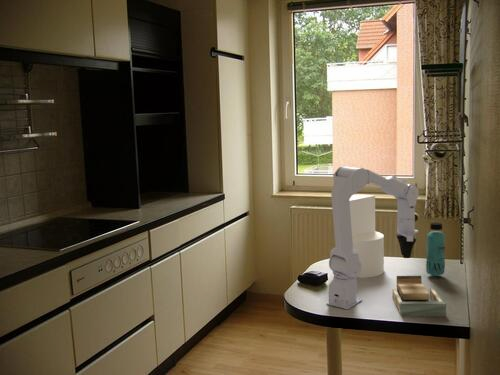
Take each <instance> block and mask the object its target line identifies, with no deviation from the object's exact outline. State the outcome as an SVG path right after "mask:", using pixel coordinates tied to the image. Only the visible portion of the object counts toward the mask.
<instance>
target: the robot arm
mask: <svg viewBox="0 0 500 375" xmlns="http://www.w3.org/2000/svg"><path fill="white" fill-rule="evenodd" d="M332 175H333V176H332V178H333V179H332V180H333V185H332V189H331V195H330V196H331V208H332V219H333V220H332V221H333V222H332V223H333V233H334V243H335V246H334V247H333V248H332V249H331V250H330V254H329V261H328V266H329V269H330V271H332V275H333V279H332V280H331V281H330V282H329V284H328V301H327V302H326V305H327V306H331V307H337V308H340V309H345V310H350V309H351V308H352V307H354V306H356V305H358V304H359V303H361V302H362V301H363V299H362V298H359V297H357V296H358V294H357V291H358V289H357V285H358V284H357V278H359V277H358V275H359V274H360V272H361V268H362V265H361V262H360V260H359V256H358V253H357V251H356V250H355V249H354V247H353V241H352V227H351V214H350V198H351V196H352V195H357V193H358V192H359V191H361V190H362V189H364V188H365V187H366V186H367V185H369V184H372V185H375V186H376V187H377V186H378V187H380V188H381V189H380V190H381V191H382V192H383V193H386V194H388V195H390V196H392V197H394V198H395V199H396V200H397V208H396V209H397V212H396V213H397V214H396V215H397V218H396V219H397V221H396V222H397V227H396V228H397V229H396V233H397V234H396V235H395V236H396V238H397V240H398V244H399V249H400V253H401V256H402V257H403V259H410V258H411V257H412V256H411V255H412V252H413V248H414V245H415V243H416V241H417V239H416V238H414V235H416V234H418V233H419V230H418V229H415V228H416V227H415V225H416V224H415V223H416V216H415V215H416V214H415V212H416V209H415V208H416V206H417V200H418V198H419V195H420V192H419V190H418V187H417V186H416V185H415V184H411V183H407V181H406V180H405V179H404V180H402V179H398V178H397V175H389V176H385V177H384V176H382V175H381V174H378V173H376V172H375V171H372V170H370V169H367V168H364V167H352V166H351V167H350V166H346V165H341V166H339V167H338V168H337V169H336V170H335V171H334V173H333V174H332Z"/></svg>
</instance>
